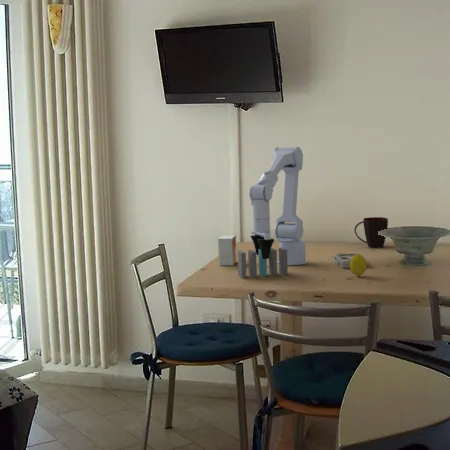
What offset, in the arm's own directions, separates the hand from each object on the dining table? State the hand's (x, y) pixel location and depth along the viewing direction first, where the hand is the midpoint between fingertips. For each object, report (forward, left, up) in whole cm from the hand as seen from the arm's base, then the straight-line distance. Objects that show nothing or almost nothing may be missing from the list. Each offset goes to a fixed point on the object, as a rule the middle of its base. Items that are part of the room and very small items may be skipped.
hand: (262, 256), depth 242 cm
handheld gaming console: (-35, -6, -7) cm, 37 cm away
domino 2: (+4, 0, -7) cm, 8 cm away
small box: (+7, -25, -7) cm, 27 cm away
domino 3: (-4, 0, -7) cm, 8 cm away
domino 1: (+8, 0, -7) cm, 10 cm away
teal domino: (0, 0, -7) cm, 7 cm away
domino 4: (-7, 0, -7) cm, 10 cm away
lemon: (-30, +14, -7) cm, 34 cm away
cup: (-58, -37, -7) cm, 69 cm away
